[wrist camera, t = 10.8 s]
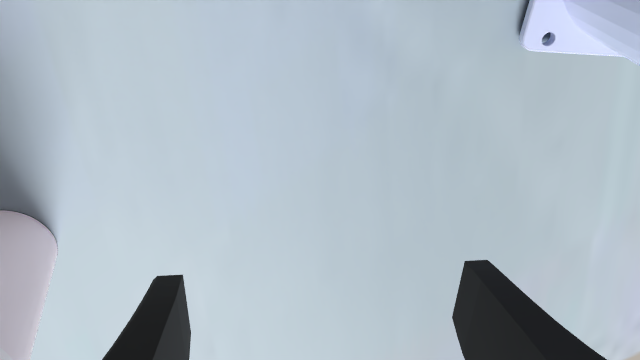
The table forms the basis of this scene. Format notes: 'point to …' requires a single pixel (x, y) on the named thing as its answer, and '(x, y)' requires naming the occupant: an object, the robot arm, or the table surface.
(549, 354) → the robot arm
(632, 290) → the table surface
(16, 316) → the smoothie
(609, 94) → the table surface
